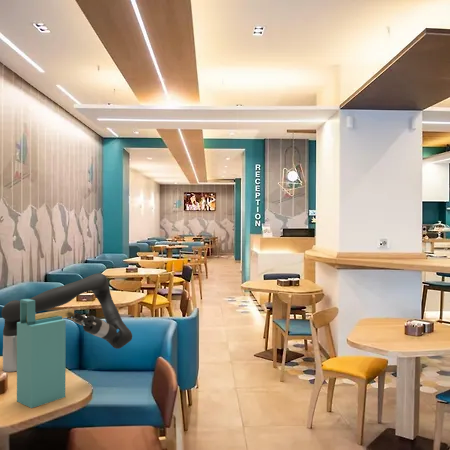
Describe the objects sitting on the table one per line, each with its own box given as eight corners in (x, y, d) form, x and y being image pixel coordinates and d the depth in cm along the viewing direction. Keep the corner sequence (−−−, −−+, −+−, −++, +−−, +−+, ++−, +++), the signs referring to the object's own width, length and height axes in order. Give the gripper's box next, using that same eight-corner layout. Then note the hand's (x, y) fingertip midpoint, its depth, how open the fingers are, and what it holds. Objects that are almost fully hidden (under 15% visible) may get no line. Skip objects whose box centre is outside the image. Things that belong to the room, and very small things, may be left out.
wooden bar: (26, 322, 190) (26, 315, 190) (69, 315, 205) (70, 308, 205) (30, 324, 188) (30, 316, 188) (74, 316, 204) (74, 309, 204)
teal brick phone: (16, 401, 191) (16, 299, 191) (50, 390, 203) (50, 294, 202) (31, 408, 184) (31, 302, 184) (65, 396, 196) (65, 297, 196)
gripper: (90, 316, 220) (63, 303, 209) (109, 321, 211) (82, 307, 200) (83, 332, 217) (55, 320, 206) (102, 337, 209) (75, 324, 197)
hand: (69, 313), depth 203 cm, fingers open, 8 cm apart
